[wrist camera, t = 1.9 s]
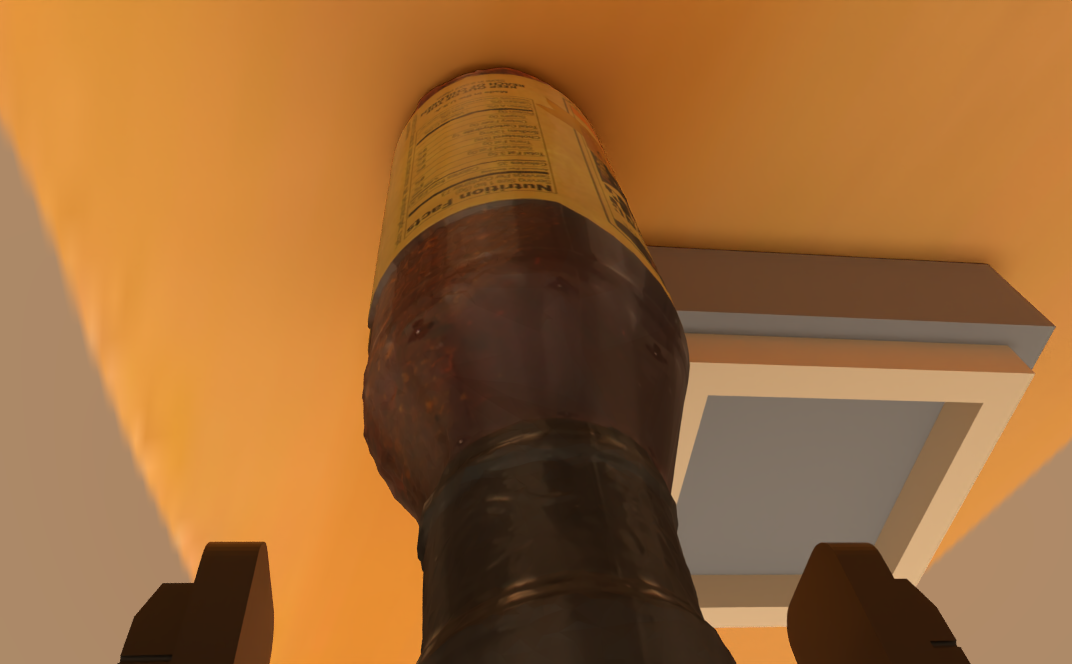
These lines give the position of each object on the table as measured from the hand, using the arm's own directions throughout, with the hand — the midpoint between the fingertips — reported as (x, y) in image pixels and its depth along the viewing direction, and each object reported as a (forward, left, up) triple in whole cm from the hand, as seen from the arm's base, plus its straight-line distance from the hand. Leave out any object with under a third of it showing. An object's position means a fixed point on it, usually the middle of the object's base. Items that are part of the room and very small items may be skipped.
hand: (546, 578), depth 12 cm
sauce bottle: (0, 0, -17) cm, 17 cm away
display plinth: (-11, +10, -16) cm, 22 cm away
